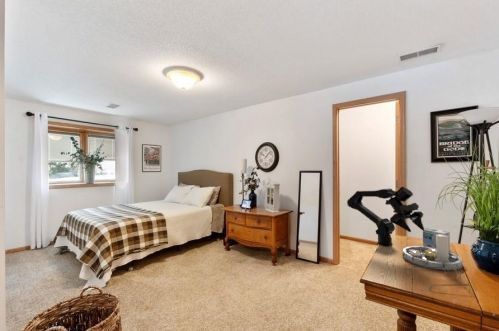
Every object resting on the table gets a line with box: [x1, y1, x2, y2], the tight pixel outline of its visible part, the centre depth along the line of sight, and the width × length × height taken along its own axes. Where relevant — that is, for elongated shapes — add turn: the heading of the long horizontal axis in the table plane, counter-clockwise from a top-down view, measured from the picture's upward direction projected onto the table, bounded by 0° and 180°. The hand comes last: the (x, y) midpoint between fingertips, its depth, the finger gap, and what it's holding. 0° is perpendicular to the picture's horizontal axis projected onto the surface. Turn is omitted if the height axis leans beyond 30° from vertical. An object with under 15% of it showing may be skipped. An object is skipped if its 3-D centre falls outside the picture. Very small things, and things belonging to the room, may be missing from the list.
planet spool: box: [435, 234, 450, 263], centre depth 113 cm, size 6×6×13 cm
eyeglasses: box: [410, 265, 471, 292], centre depth 99 cm, size 16×15×5 cm
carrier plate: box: [402, 245, 464, 272], centre depth 119 cm, size 24×24×4 cm
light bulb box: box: [422, 227, 451, 252], centre depth 134 cm, size 11×7×11 cm, turn 25°
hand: (417, 230), depth 126 cm, fingers open, 9 cm apart
